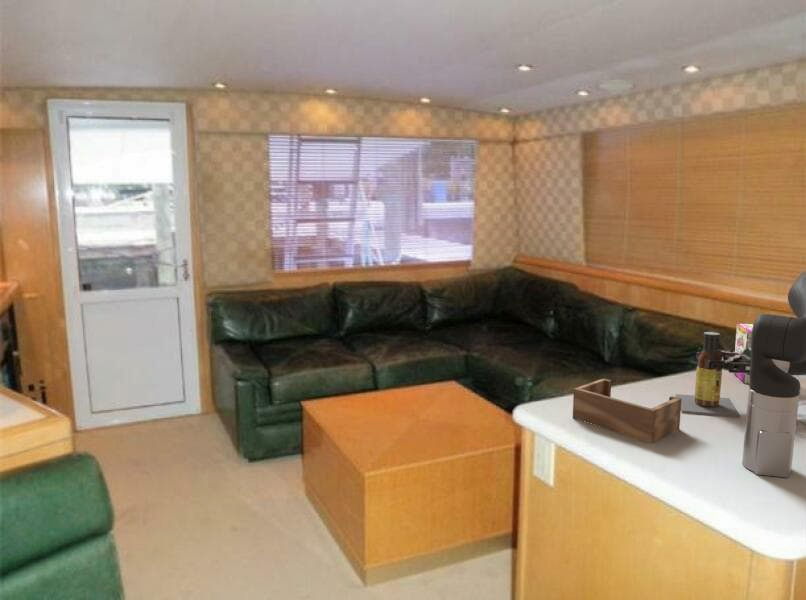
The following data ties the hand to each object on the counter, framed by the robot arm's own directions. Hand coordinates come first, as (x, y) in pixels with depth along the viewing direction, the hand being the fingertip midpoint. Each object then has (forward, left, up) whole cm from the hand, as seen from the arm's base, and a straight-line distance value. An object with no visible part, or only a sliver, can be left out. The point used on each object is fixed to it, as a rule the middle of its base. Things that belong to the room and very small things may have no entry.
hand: (702, 360), depth 173 cm
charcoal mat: (0, -2, -13) cm, 13 cm away
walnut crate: (-19, +20, -13) cm, 30 cm away
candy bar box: (+30, -18, -13) cm, 38 cm away
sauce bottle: (0, -2, -13) cm, 13 cm away
